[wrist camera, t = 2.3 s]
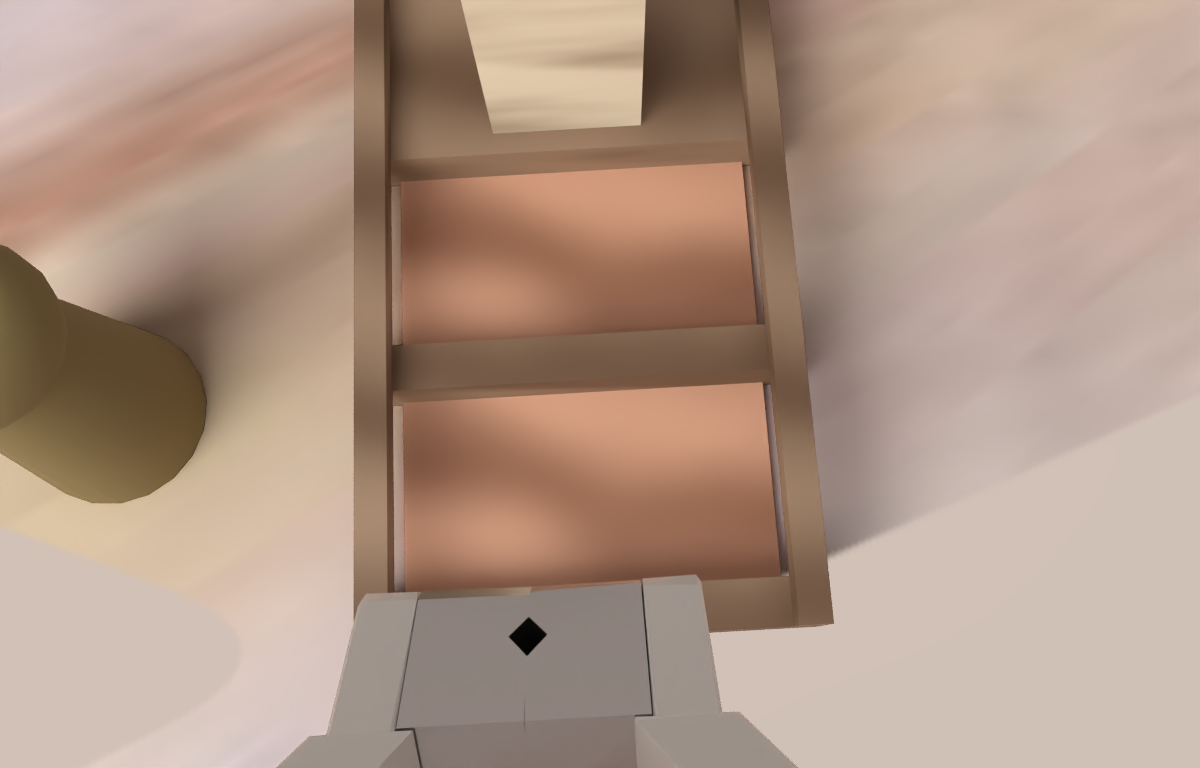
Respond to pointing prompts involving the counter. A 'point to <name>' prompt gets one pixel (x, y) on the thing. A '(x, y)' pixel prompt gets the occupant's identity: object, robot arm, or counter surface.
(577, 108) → the birch block
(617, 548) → the trap box
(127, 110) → the counter surface
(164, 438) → the cork
